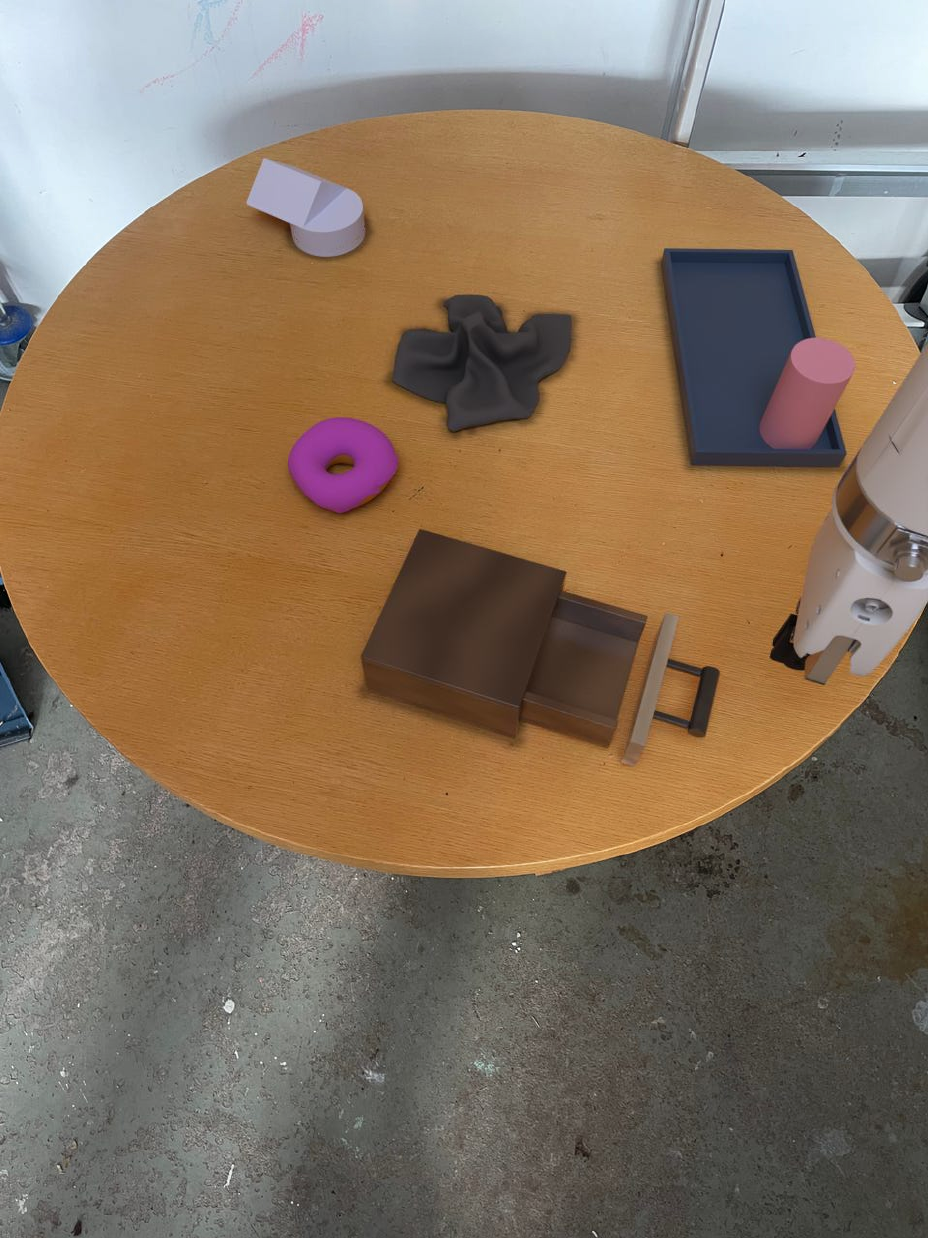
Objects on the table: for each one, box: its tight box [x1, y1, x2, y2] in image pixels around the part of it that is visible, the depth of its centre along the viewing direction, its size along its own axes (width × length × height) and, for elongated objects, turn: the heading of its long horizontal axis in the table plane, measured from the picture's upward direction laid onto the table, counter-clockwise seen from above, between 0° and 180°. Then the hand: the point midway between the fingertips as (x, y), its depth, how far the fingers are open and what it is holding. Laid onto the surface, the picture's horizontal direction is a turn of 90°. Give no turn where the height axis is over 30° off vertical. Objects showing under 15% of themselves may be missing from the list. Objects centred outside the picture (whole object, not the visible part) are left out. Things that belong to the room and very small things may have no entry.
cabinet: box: [360, 528, 567, 740], centre depth 75 cm, size 14×14×7 cm
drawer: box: [519, 590, 721, 768], centre depth 73 cm, size 17×12×5 cm
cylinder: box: [759, 337, 856, 449], centre depth 86 cm, size 6×6×10 cm
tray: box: [660, 247, 848, 468], centre depth 96 cm, size 31×15×2 cm, turn 179°
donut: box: [287, 416, 400, 514], centre depth 86 cm, size 10×10×5 cm
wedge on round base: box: [245, 157, 366, 258], centre depth 104 cm, size 9×7×13 cm
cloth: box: [390, 293, 572, 432], centre depth 94 cm, size 22×19×6 cm
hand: (792, 656), depth 62 cm, fingers closed
